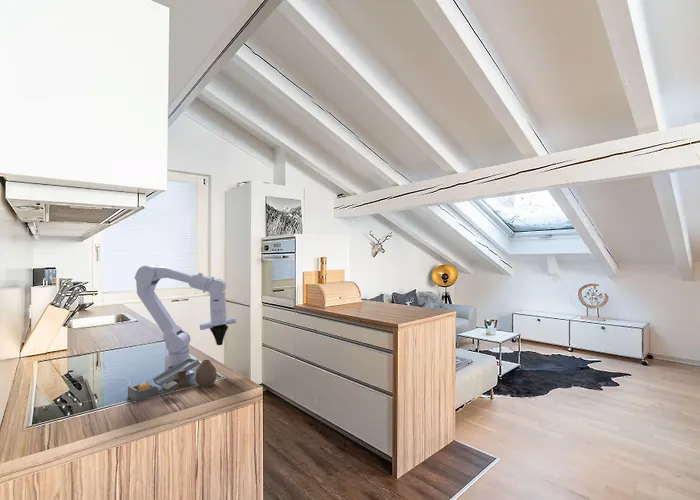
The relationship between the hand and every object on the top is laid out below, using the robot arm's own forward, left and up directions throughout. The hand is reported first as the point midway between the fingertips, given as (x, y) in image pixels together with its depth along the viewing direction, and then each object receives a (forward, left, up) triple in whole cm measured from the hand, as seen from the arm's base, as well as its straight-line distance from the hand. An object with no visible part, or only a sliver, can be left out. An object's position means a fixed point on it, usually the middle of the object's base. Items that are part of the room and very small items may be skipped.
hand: (219, 344), depth 140 cm
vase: (+10, -11, -11) cm, 18 cm away
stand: (+1, -17, -10) cm, 20 cm away
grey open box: (+1, -28, -10) cm, 30 cm away
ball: (+1, -28, -8) cm, 29 cm away
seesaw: (+5, -18, -6) cm, 19 cm away
